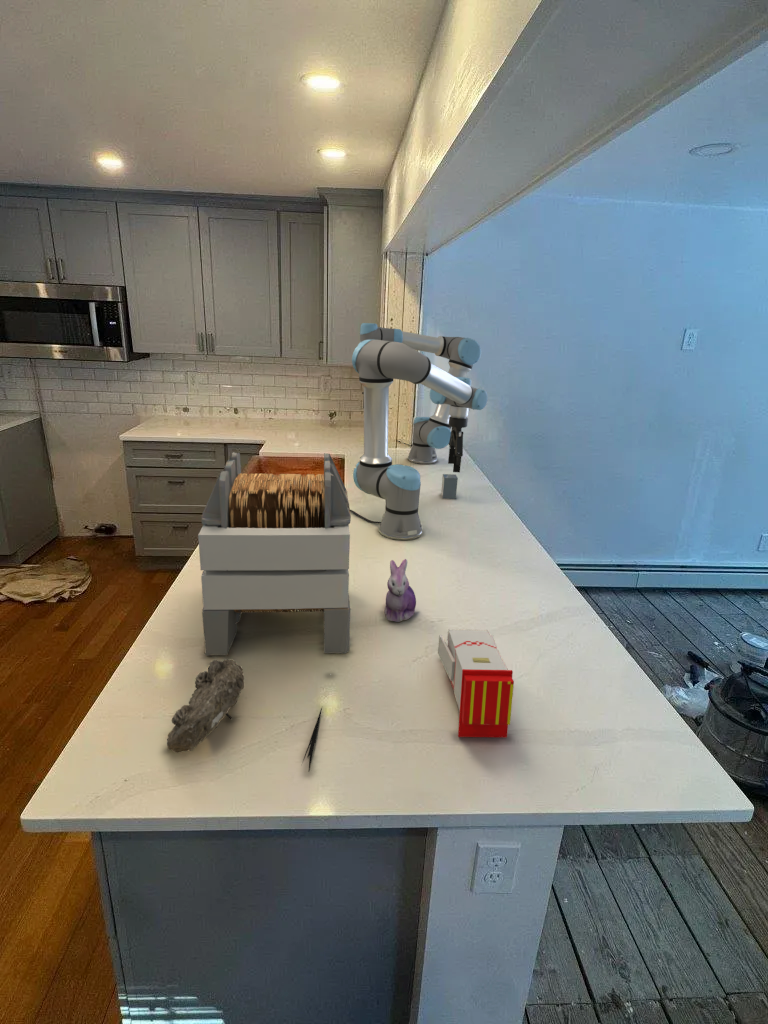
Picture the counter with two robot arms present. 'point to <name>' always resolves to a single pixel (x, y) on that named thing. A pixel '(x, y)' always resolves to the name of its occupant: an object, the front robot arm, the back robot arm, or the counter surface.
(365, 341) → the front robot arm
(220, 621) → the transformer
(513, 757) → the counter surface
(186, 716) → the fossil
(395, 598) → the figurine
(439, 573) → the counter surface
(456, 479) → the brick
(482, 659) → the toy
